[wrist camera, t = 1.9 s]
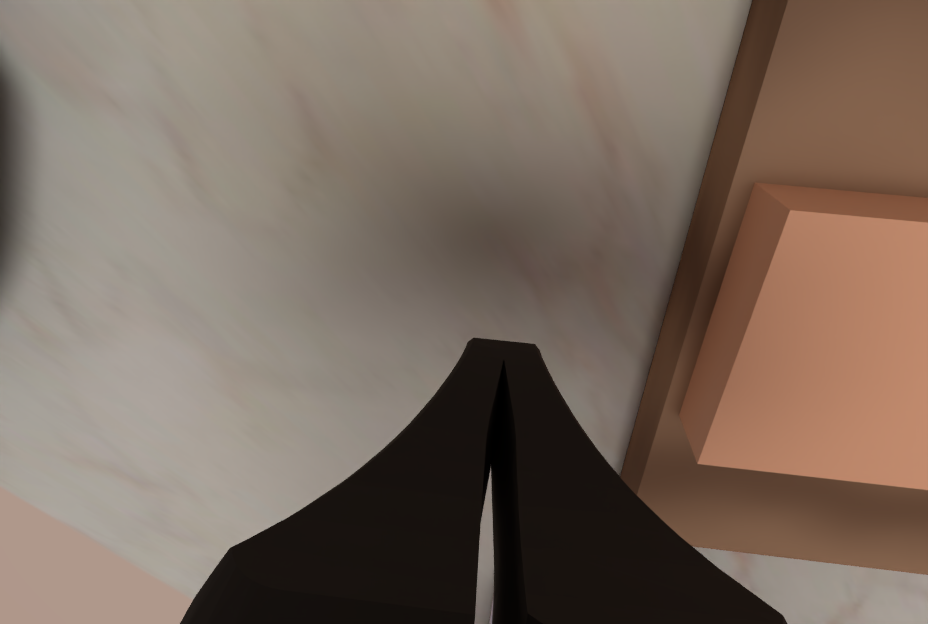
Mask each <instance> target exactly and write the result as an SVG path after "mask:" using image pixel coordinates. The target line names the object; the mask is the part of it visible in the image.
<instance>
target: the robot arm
mask: <svg viewBox="0 0 928 624" xmlns="http://www.w3.org/2000/svg"><path fill="white" fill-rule="evenodd" d="M490 468H491V476H492V510H493V542H494V593H493V600H492V607H491V614H490V621H489V624H787V622H786V620H785V618H784V617H783V615H782V614H780V613H779V612H777V611H776V610H775V609H773V608H772V607H771V606H769V605H768V604H767V603H765V602H764V601H762V600H761V599H760V598H758V597H757V596H756V595H754V594H753V593H752V592H750V591H749V590H747V589H746V588H745V587H743V586H742V585H741V584H739V583H738V582H736V581H735V580H734V579H732V578H731V577H730V576H728V575H727V574H726V573H724V572H723V571H721V570H720V569H719V568H718V567H716V566H715V565H714V564H713V563H711V562H710V561H709V560H708V559H707V558H705V557H704V556H703V555H702V554H701V553H699V552H698V551H697V550H696V549H695V548H693V547H692V546H691V545H690V544H689V543H687V542H686V541H685V540H684V539H683V538H681V537H680V536H679V535H678V534H677V533H676V532H675V531H674V530H672V529H671V528H670V527H669V526H668V525H667V524H666V523H665V522H664V521H663V520H662V519H661V518H660V517H659V516H658V515H656V514H655V513H654V512H653V511H652V510H651V509H650V508H649V507H648V506H647V505H646V504H645V503H644V502H643V501H642V500H641V499H640V498H639V497H638V496H637V495H636V494H635V493H634V492H633V491H632V490H631V489H630V488H629V487H628V485H627V484H626V483H625V482H624V481H623V480H622V479H621V478H620V476H619V475H618V474H617V473H616V472H615V471H614V469H613V468H612V467H611V466H610V465H609V464H608V462H607V461H606V460H605V459H604V457H603V456H602V455H601V453H600V452H599V451H598V449H597V448H596V447H595V445H594V444H593V443H592V441H591V440H590V439H589V437H588V436H587V434H586V433H585V431H584V430H583V429H582V427H581V426H580V424H579V423H578V421H577V420H576V418H575V417H574V415H573V414H572V412H571V410H570V409H569V407H568V405H567V404H566V402H565V400H564V399H563V397H562V395H561V394H560V392H559V390H558V388H557V387H556V385H555V383H554V381H553V379H552V377H551V375H550V373H549V371H548V369H547V367H546V365H545V363H544V360H543V358H542V356H541V353H540V350H539V349H538V348H537V346H536V345H535V344H529V343H519V342H510V341H500V340H490V339H481V338H473V339H472V340H470V341H469V342H468V343H467V346H466V348H465V350H464V352H463V354H462V356H461V358H460V359H459V361H458V363H457V364H456V366H455V367H454V369H453V370H452V372H451V373H450V375H449V376H448V377H447V379H446V380H445V382H444V383H443V384H442V386H441V387H440V388H439V390H438V391H437V392H436V394H435V395H434V396H433V397H432V399H431V400H430V401H429V402H428V403H427V404H426V406H425V407H424V408H423V409H422V410H421V411H420V412H419V414H418V415H417V416H416V417H415V418H414V419H413V420H412V421H411V423H410V424H409V425H408V426H407V427H406V428H405V429H404V430H403V431H402V432H401V433H400V434H399V435H398V436H397V437H396V438H395V439H393V440H392V441H391V442H390V443H389V444H388V445H387V446H386V447H385V448H384V449H383V450H381V451H380V452H379V453H378V454H377V455H376V456H374V457H373V458H372V459H371V460H370V461H368V462H367V463H366V464H365V465H363V466H362V467H361V468H360V469H359V470H357V471H356V472H355V473H354V474H352V475H351V476H350V477H348V478H347V479H346V480H344V481H343V482H342V483H340V484H339V485H337V486H336V487H334V488H333V489H331V490H330V491H328V492H327V493H325V494H324V495H322V496H321V497H319V498H318V499H316V500H315V501H313V502H312V503H310V504H309V505H307V506H306V507H304V508H303V509H301V510H300V511H298V512H296V513H295V514H293V515H291V516H290V517H288V518H286V519H285V520H283V521H281V522H279V523H277V524H275V525H273V526H271V527H270V528H268V529H266V530H264V531H262V532H260V533H258V534H257V535H255V536H253V537H251V538H249V539H247V540H245V541H243V542H241V543H239V544H237V545H235V546H233V547H231V548H230V549H229V550H228V551H227V553H226V554H225V555H224V557H223V558H222V560H221V561H220V562H219V564H218V565H217V567H216V568H215V569H214V571H213V572H212V574H211V575H210V576H209V578H208V579H207V581H206V582H205V584H204V585H203V586H202V588H201V589H200V591H199V592H198V594H197V595H196V597H195V598H194V600H193V601H192V603H191V605H190V607H189V608H188V610H187V612H186V614H185V616H184V617H183V619H182V621H181V623H180V624H474V622H475V606H476V587H477V570H478V553H479V537H480V522H481V517H482V511H483V506H484V501H485V495H486V490H487V484H488V479H489V473H490Z"/></svg>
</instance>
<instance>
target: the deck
mask: <svg viewBox="0 0 928 624" xmlns="http://www.w3.org/2000/svg"><path fill="white" fill-rule="evenodd" d="M754 183H766V184H777V185H788V186H799V187H811V188H822V189H833V190H845V191H856V192H867V193H878V194H890V195H901V196H912V197H923V198H928V0H753V1H752V5H751V9H750V12H749V16H748V19H747V23H746V27H745V30H744V34H743V37H742V41H741V44H740V48H739V52H738V55H737V59H736V62H735V66H734V70H733V73H732V77H731V80H730V84H729V88H728V91H727V95H726V98H725V102H724V106H723V109H722V113H721V116H720V120H719V124H718V127H717V131H716V134H715V138H714V141H713V145H712V149H711V152H710V156H709V159H708V163H707V167H706V170H705V174H704V177H703V181H702V185H701V188H700V192H699V195H698V199H697V203H696V206H695V210H694V213H693V217H692V221H691V224H690V228H689V231H688V235H687V238H686V242H685V246H684V249H683V253H682V256H681V260H680V264H679V267H678V271H677V274H676V278H675V282H674V285H673V289H672V292H671V296H670V300H669V303H668V307H667V310H666V314H665V318H664V321H663V325H662V328H661V332H660V335H659V339H658V343H657V346H656V350H655V353H654V357H653V361H652V364H651V368H650V371H649V375H648V379H647V382H646V386H645V389H644V393H643V397H642V400H641V404H640V407H639V411H638V415H637V418H636V422H635V425H634V429H633V432H632V436H631V440H630V443H629V447H628V450H627V454H626V458H625V461H624V465H623V468H622V472H621V476H620V478H621V479H622V480H623V481H624V482H625V483H626V484H627V485H628V487H629V488H630V489H631V490H632V491H633V492H634V493H635V494H636V495H637V496H638V497H639V498H640V499H641V500H642V501H643V502H644V503H645V504H646V505H647V506H648V507H649V508H650V509H651V510H652V511H653V512H654V513H655V514H656V515H658V516H659V517H660V518H661V519H662V520H663V521H664V522H665V523H666V524H667V525H668V526H669V527H670V528H671V529H672V530H674V531H675V532H676V533H677V534H678V535H679V536H680V537H681V538H683V539H684V540H685V541H686V542H687V543H689V544H690V545H691V546H694V547H702V548H711V549H719V550H727V551H735V552H744V553H752V554H760V555H768V556H777V557H785V558H793V559H802V560H810V561H818V562H826V563H835V564H843V565H851V566H859V567H868V568H876V569H884V570H893V571H901V572H909V573H917V574H926V575H928V490H923V489H914V488H905V487H896V486H888V485H879V484H870V483H861V482H852V481H844V480H835V479H826V478H817V477H808V476H800V475H791V474H782V473H773V472H764V471H756V470H747V469H738V468H729V467H720V466H712V465H703V464H697V462H696V459H695V456H694V454H693V451H692V448H691V446H690V443H689V440H688V438H687V435H686V432H685V430H684V427H683V424H682V422H681V419H680V416H679V414H680V411H681V408H682V405H683V401H684V398H685V395H686V392H687V389H688V386H689V383H690V380H691V377H692V374H693V371H694V368H695V365H696V362H697V358H698V355H699V352H700V349H701V346H702V343H703V340H704V337H705V334H706V331H707V328H708V325H709V322H710V318H711V315H712V312H713V309H714V306H715V303H716V300H717V297H718V294H719V291H720V288H721V285H722V282H723V278H724V275H725V272H726V269H727V266H728V263H729V260H730V257H731V254H732V251H733V248H734V245H735V242H736V239H737V235H738V232H739V229H740V226H741V223H742V220H743V217H744V214H745V211H746V208H747V205H748V202H749V199H750V195H751V192H752V189H753V186H754Z"/></svg>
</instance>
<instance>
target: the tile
mask: <svg viewBox="0 0 928 624" xmlns="http://www.w3.org/2000/svg"><path fill="white" fill-rule="evenodd" d="M679 416H680V419H681V422H682V424H683V427H684V430H685V432H686V435H687V438H688V440H689V443H690V446H691V448H692V451H693V454H694V456H695V459H696V462H697V464H703V465H712V466H720V467H729V468H738V469H747V470H756V471H764V472H773V473H782V474H791V475H800V476H808V477H817V478H826V479H835V480H844V481H852V482H861V483H870V484H879V485H888V486H896V487H905V488H914V489H923V490H928V198H923V197H912V196H901V195H890V194H878V193H867V192H856V191H845V190H833V189H822V188H811V187H799V186H788V185H777V184H766V183H754V186H753V189H752V192H751V195H750V199H749V202H748V205H747V208H746V211H745V214H744V217H743V220H742V223H741V226H740V229H739V232H738V235H737V239H736V242H735V245H734V248H733V251H732V254H731V257H730V260H729V263H728V266H727V269H726V272H725V275H724V278H723V282H722V285H721V288H720V291H719V294H718V297H717V300H716V303H715V306H714V309H713V312H712V315H711V318H710V322H709V325H708V328H707V331H706V334H705V337H704V340H703V343H702V346H701V349H700V352H699V355H698V358H697V362H696V365H695V368H694V371H693V374H692V377H691V380H690V383H689V386H688V389H687V392H686V395H685V398H684V401H683V405H682V408H681V411H680V414H679Z"/></svg>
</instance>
